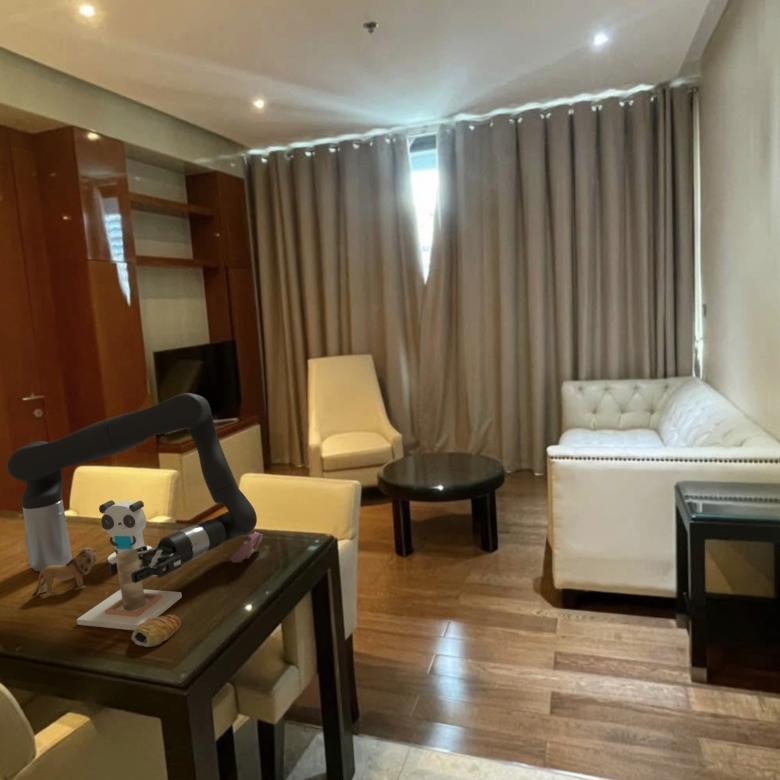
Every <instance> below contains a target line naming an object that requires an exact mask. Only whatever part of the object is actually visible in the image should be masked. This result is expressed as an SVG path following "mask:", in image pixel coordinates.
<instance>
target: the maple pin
mask: <svg viewBox="0 0 780 780" xmlns="http://www.w3.org/2000/svg"><path fill="white" fill-rule="evenodd" d="M116 563H117V569H118V573H117V574H118V575H117V576H118V580H119V581H118V582H119V589H121V594H122V600H123V606H124V610H128V611H132V610H136V609H139V608H141V607H142V606H144V605H145V597H144V590H143V589H144V586H143V585H144V584H143V580H141V581H139V582H137V583H134V582H132V578H131V574H132V573H133V572H135V571H137V570H139V569H141V568H140V564H139V558H138V551H137V550H126V551H122V552H120V553H118V554H117V555H116Z"/></svg>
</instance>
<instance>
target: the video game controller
mask: <svg viewBox="0 0 780 780" xmlns="http://www.w3.org/2000/svg"><path fill="white" fill-rule="evenodd" d="M263 538H264V534H263V533H262V532H256V531H254V532H253V533H250V534H248V535H247V536H246V538H245V540H244V541H243V543H242V544H241V546H240V547H239V548H238V549H237V550H236V551H235V552H234V553H233V554H232V555H231V557H230V561H231V562H232V563H233V564H237V563H240V562H242V561H243V560H245V559H246V560H249V559H250V558H251V556H252V554H253V553H254V552H255V553H256V552H258V551H257V550H258V547H259V545H261V542H262V540H263ZM255 553H254V554H255Z"/></svg>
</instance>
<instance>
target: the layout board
mask: <svg viewBox="0 0 780 780" xmlns="http://www.w3.org/2000/svg"><path fill="white" fill-rule="evenodd" d="M143 590H144V597H145V605H144V606H142V607H141V608H139V609H136V610H132V611H128V610H124V606H123V600H122V594H121V588H119V590H117V591H116V592H114V593H112V595H111V594H110V596H109V597H107V598H105V599H104V600H102V601H101V602H100V603H98V604H97V605H95V606H94V607H92V608H91V609H90V610H88V611H87V612H85V613H84V614H82V615H81V616H79V617H78V618H76V624H77V626H78V625H80V626H88V627H96V628H99V627H100V628H108V629H116V630H118V629H119V630H128V631H134V630H135V628H138V626H139V624H141V623H145V622H146V621H147V620H148V619H154V618H157V617H160V616H162V614H163V613H164V612H166V611H167V610H168V609H169V608H171V607H172V606H173V605H174V604H176V603H177V602H178V601H179V600H180V599H181V598H182V597H183V596H182V592H180V591H170V590H155V589H144V588H143Z"/></svg>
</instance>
